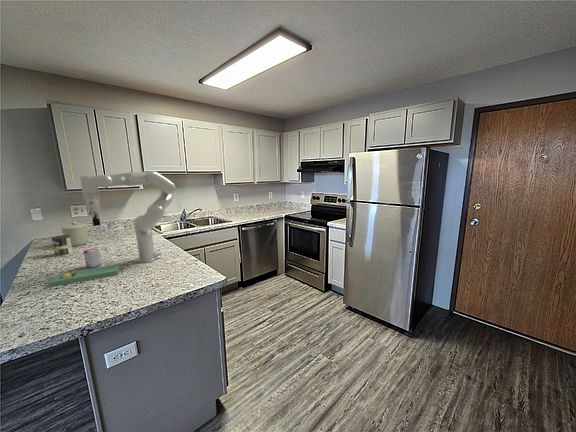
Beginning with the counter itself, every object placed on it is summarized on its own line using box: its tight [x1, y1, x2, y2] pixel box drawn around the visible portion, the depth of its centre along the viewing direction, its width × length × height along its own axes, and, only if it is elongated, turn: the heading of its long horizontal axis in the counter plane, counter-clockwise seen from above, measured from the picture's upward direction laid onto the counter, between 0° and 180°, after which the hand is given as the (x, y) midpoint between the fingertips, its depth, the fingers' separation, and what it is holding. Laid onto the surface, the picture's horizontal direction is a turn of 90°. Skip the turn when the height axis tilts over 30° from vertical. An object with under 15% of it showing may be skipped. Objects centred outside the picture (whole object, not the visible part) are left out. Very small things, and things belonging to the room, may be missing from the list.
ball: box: [62, 272, 72, 279], centre depth 136 cm, size 4×4×4 cm
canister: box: [60, 220, 89, 247], centre depth 205 cm, size 18×18×21 cm
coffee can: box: [50, 235, 74, 258], centre depth 180 cm, size 10×10×14 cm
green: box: [49, 263, 121, 287], centre depth 141 cm, size 30×12×2 cm, turn 119°
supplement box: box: [83, 248, 102, 269], centre depth 156 cm, size 6×6×12 cm
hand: (97, 225), depth 147 cm, fingers closed
